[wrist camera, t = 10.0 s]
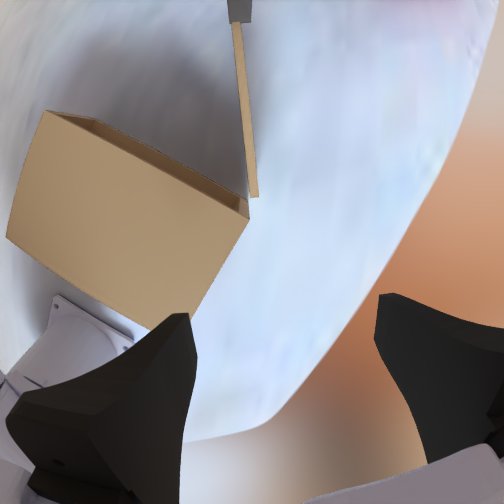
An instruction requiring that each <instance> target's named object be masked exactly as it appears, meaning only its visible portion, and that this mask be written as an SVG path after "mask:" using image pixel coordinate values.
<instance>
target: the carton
mask: <svg viewBox="0 0 504 504" xmlns="http://www.w3.org/2000/svg"><path fill="white" fill-rule="evenodd" d="M249 220H250V217H249V205H248V201H247V200H245V199H244V198H242V197H240V196H238V195H237V194H235V193H233V192H231V191H230V190H228V189H226V188H224V187H222V186H221V185H219V184H217V183H215V182H214V181H212V180H210V179H208V178H206V177H205V176H203V175H201V174H199V173H197V172H195V171H194V170H192V169H190V168H188V167H186V166H184V165H183V164H181V163H179V162H177V161H175V160H173V159H171V158H170V157H168V156H166V155H164V154H162V153H160V152H158V151H156V150H155V149H153V148H151V147H149V146H147V145H145V144H143V143H141V142H139V141H137V140H135V139H133V138H131V137H130V136H128V135H126V134H124V133H122V132H120V131H118V130H116V129H114V128H112V127H110V126H108V125H106V124H104V123H102V122H100V121H98V120H96V119H94V118H90V117H85V116H79V115H73V114H67V113H61V112H55V111H48V110H45V111H44V113H43V115H42V118H41V120H40V122H39V125H38V127H37V130H36V132H35V135H34V137H33V140H32V143H31V145H30V148H29V151H28V154H27V157H26V160H25V163H24V166H23V169H22V172H21V175H20V179H19V182H18V186H17V189H16V193H15V197H14V200H13V204H12V209H11V213H10V217H9V222H8V226H7V231H6V238H7V239H9V240H10V241H11V242H12V243H14V244H15V245H16V246H18V247H19V248H20V249H22V250H23V251H24V252H26V253H27V254H28V255H30V256H31V257H33V258H34V259H35V260H37V261H38V262H40V263H41V264H42V265H44V266H45V267H47V268H48V269H50V270H51V271H53V272H54V273H56V274H57V275H58V276H60V277H61V278H63V279H64V280H66V281H68V282H69V283H71V284H72V285H74V286H75V287H77V288H78V289H80V290H82V291H83V292H85V293H86V294H88V295H89V296H91V297H93V298H94V299H96V300H98V301H99V302H101V303H103V304H104V305H106V306H108V307H109V308H111V309H113V310H114V311H116V312H118V313H120V314H121V315H123V316H125V317H127V318H128V319H130V320H132V321H134V322H136V323H137V324H139V325H141V326H143V327H145V328H147V329H149V330H150V331H152V330H153V329H154V328H155V327H156V326H158V325H159V324H160V323H161V322H162V321H163V320H165V319H166V318H167V317H168V316H170V315H171V314H172V313H189V317H190V320H191V319H192V317H193V315H194V313H195V312H196V310H197V308H198V307H199V305H200V303H201V301H202V300H203V298H204V296H205V295H206V293H207V291H208V289H209V288H210V286H211V284H212V283H213V281H214V279H215V278H216V276H217V274H218V272H219V271H220V269H221V267H222V266H223V264H224V262H225V261H226V259H227V257H228V256H229V254H230V252H231V251H232V249H233V247H234V246H235V244H236V242H237V240H238V239H239V237H240V235H241V234H242V232H243V230H244V229H245V227H246V225H247V224H248V222H249Z"/></svg>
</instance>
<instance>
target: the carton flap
mask: <svg viewBox="0 0 504 504" xmlns="http://www.w3.org/2000/svg"><path fill="white" fill-rule="evenodd" d="M227 5H228V14H229V23H230V24H231V26H232V35H233V44H234V53H235V62H236V72H237V81H238V90H239V100H240V109H241V118H242V128H243V137H244V147H245V156H246V166H247V175H248V185H249V192H250V198H254V197H259V190H258V180H257V170H256V161H255V151H254V141H253V132H252V122H251V113H250V104H249V95H248V85H247V76H246V68H245V59H244V50H243V41H242V33H241V24H240V23H249V22H251V10H252V0H227Z"/></svg>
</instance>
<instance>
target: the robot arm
mask: <svg viewBox="0 0 504 504" xmlns="http://www.w3.org/2000/svg"><path fill="white" fill-rule="evenodd" d="M56 304H57V305H58V306H59V307H58V306H57V305H56ZM374 341H375V344H376V346H377V349H378V351H379V353H380V356H381V358H382V360H383V362H384V364H385V365H386V367H387V369H388V371H389V372H390V374H391V376H392V377H393V379H394V381H395V382H396V384H397V386H398V388H399V389H400V391H401V392H402V394H403V396H404V398H405V400H406V402H407V404H408V406H409V408H410V410H411V413H412V416H413V418H414V421H415V423H416V426H417V429H418V432H419V435H420V438H421V441H422V444H423V447H424V451H425V455H426V459H427V463H428V465H425V466H423V467H420V468H417V469H414V470H411V471H409V472H406V473H402V474H399V475H396V476H393V477H390V478H386V479H383V480H379V481H376V482H372V483H368V484H364V485H360V486H356V487H352V488H347V489H344V490H340V491H336V492H333V493H329V494H326V495H322V496H318V497H314V498H312V499H310V500H308V501H306V502H304V503H301V504H504V329H503V328H496V327H491V326H486V325H481V324H477V323H473V322H470V321H466V320H462V319H459V318H456V317H454V316H451V315H448V314H445V313H443V312H440V311H438V310H435V309H433V308H431V307H428V306H426V305H424V304H421V303H419V302H416V301H414V300H412V299H410V298H407V297H405V296H402V295H399V294H396V293H389V294H381V295H379V303H378V310H377V320H376V327H375V334H374ZM125 346H126V347H128V349H127V348H125ZM197 358H198V357H197V352H196V347H195V342H194V338H193V333H192V328H191V323H190V317H189V313H172V314H171V315H170V316H168V317H167V318H166V319H165V320H163V321H162V322H161V323H160V324H159V325H158V326H156V327H155V328H154V329H153V330H152V331H151V332H149V333H148V334H147V335H146V336H145V337H143V338H142V339H141V340H139V341H138V342H137V343H135V344H134V341H133V340H132V339H131V338H129V337H127V336H126V335H124V334H122V333H120V332H118V331H117V330H115V329H113V328H111V327H110V326H108V325H106V324H105V323H103V322H101V321H99V320H98V319H96V318H95V317H93V316H91V315H90V314H88V313H86V312H85V311H83V310H82V309H80V308H78V307H77V306H75V305H74V304H72V303H71V302H69V301H68V300H66V299H64V298H63V297H61V296H60V295H56V296H55V297H54V298H53V301H52V306H51V310H50V315H49V320H48V325H47V330H46V331H45V332H44V333H43V334H42V335H41V336H40V337H39V338H38V339H37V341H36V342H35V343H34V344H33V345H32V346H31V347H30V348H29V349H28V350H27V352H26V353H25V354H24V355H23V356H22V357H21V358H20V359H19V361H18V362H17V363H16V364H15V365H14V366H13V367H12V369H11V370H10V371H9V372H8V373H7V374H6V375H4V374H3V372H2V371H1V370H0V504H179V487H180V464H181V451H182V440H183V432H184V426H185V421H186V417H187V413H188V409H189V405H190V400H191V396H192V392H193V388H194V383H195V379H196V370H197Z"/></svg>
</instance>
